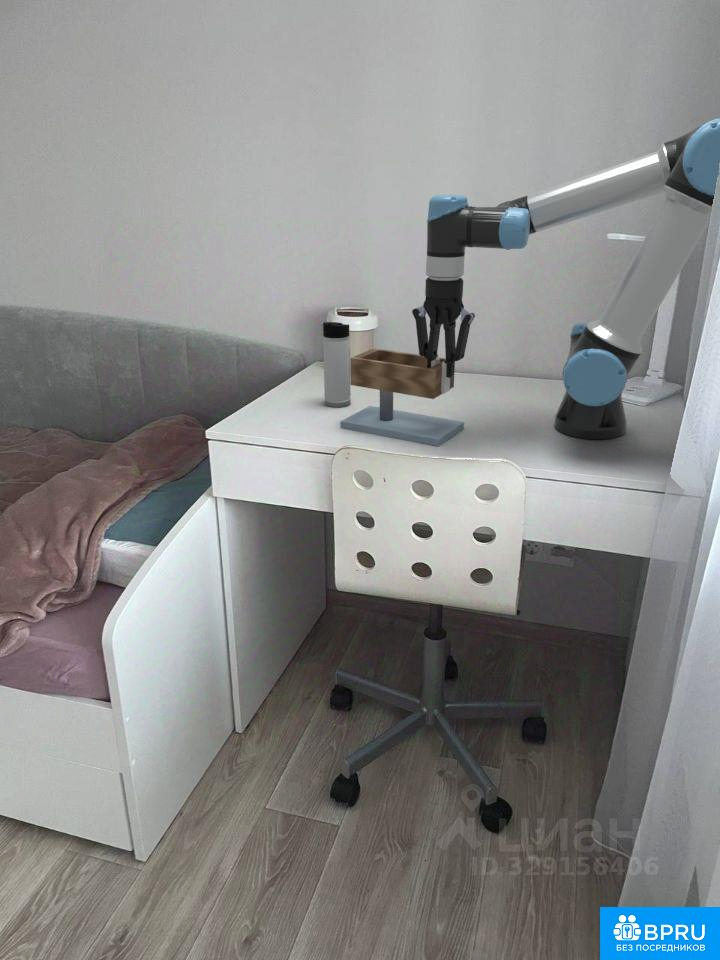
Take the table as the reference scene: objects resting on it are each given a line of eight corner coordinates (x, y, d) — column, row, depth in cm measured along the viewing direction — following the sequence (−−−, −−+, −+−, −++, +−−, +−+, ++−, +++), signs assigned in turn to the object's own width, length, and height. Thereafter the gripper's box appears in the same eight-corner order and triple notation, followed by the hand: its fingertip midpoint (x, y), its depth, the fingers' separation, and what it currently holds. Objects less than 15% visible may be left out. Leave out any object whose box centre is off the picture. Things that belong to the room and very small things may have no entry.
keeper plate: (464, 428, 175) (466, 376, 171) (438, 446, 165) (440, 392, 160) (369, 411, 186) (369, 363, 182) (340, 427, 176) (339, 376, 172)
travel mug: (318, 404, 192) (316, 321, 184) (338, 398, 197) (336, 317, 189) (336, 409, 188) (334, 325, 180) (356, 403, 192) (355, 321, 185)
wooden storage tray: (453, 387, 171) (455, 359, 169) (433, 399, 163) (434, 370, 161) (373, 374, 181) (373, 348, 178) (350, 385, 173) (350, 358, 170)
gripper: (486, 277, 158) (479, 391, 167) (419, 271, 165) (416, 381, 174) (471, 283, 152) (465, 400, 161) (402, 276, 159) (400, 390, 168)
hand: (439, 390), depth 168 cm, fingers closed on wooden storage tray, 2 cm apart
